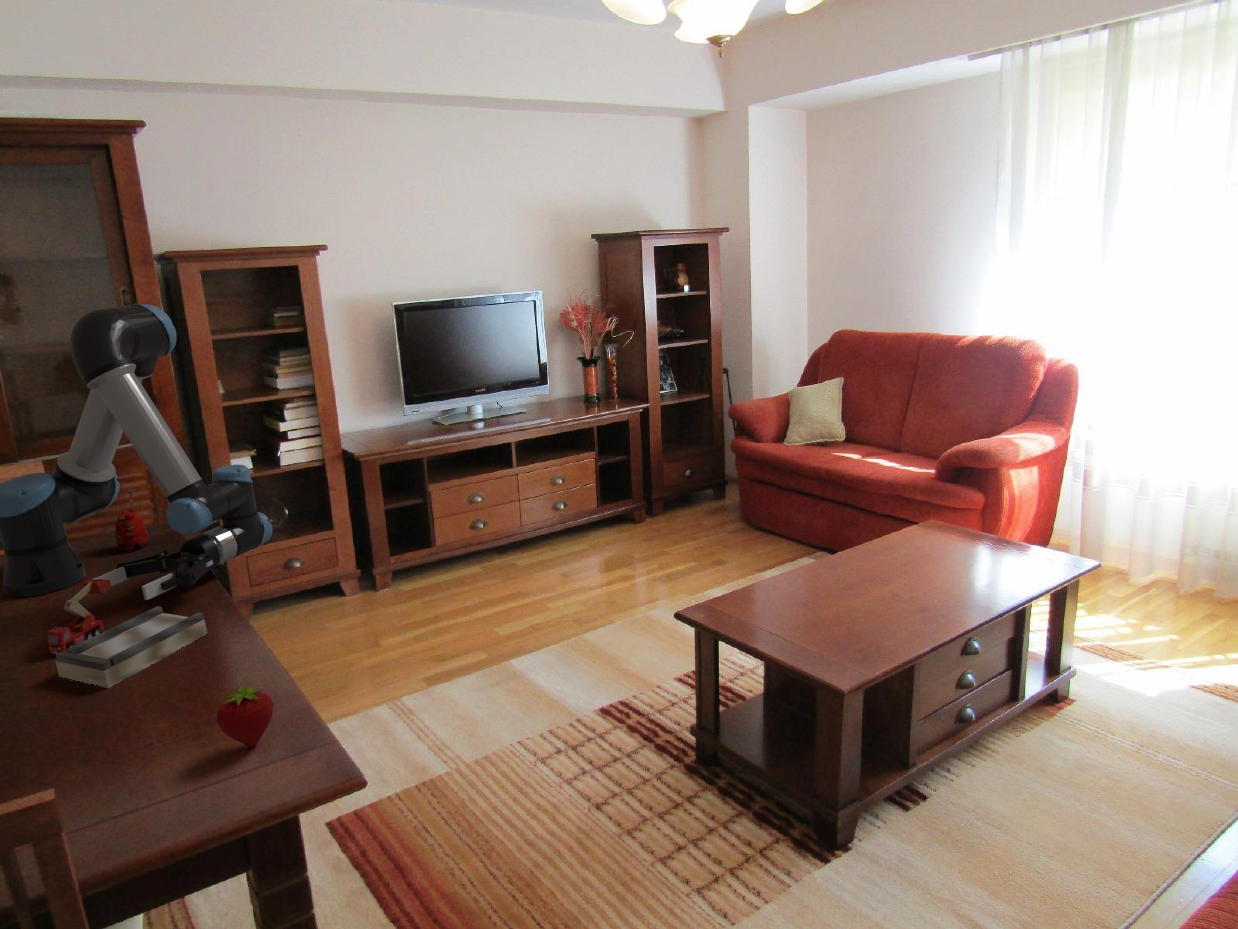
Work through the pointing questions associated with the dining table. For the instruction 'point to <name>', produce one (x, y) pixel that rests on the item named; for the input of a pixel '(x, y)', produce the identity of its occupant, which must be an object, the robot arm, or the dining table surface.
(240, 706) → the strawberry
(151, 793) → the dining table surface
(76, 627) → the toy fire truck
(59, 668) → the dock
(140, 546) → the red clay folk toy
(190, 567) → the robot arm
